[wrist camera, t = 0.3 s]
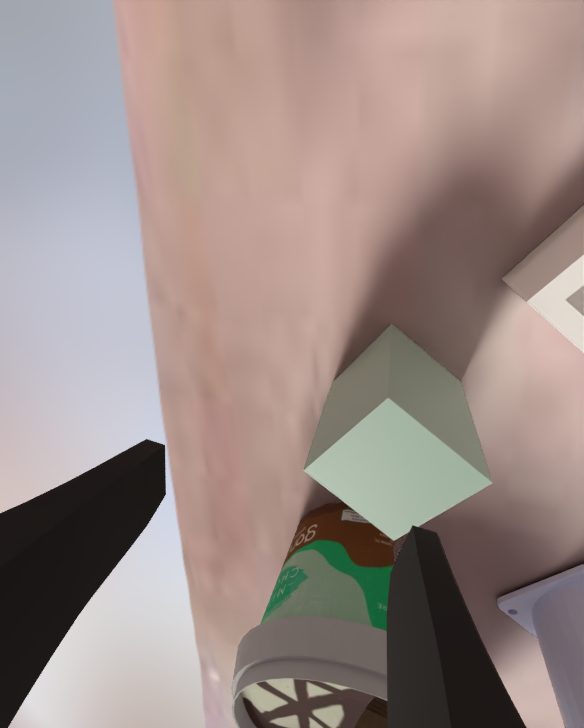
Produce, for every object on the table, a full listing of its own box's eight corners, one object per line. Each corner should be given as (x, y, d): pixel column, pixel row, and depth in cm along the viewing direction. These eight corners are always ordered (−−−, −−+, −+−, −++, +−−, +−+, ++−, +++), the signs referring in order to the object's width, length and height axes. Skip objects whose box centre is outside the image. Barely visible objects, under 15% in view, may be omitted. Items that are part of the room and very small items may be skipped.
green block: (460, 381, 18) (492, 483, 12) (395, 433, 20) (393, 540, 14) (391, 323, 18) (387, 397, 11) (332, 382, 20) (303, 470, 14)
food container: (304, 456, 22) (245, 628, 14) (401, 493, 22) (403, 698, 13) (264, 570, 28) (205, 740, 20) (339, 602, 28) (313, 792, 19)
